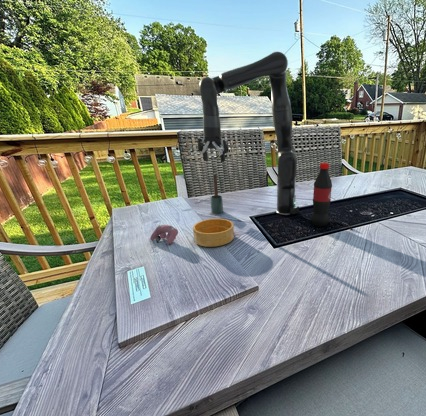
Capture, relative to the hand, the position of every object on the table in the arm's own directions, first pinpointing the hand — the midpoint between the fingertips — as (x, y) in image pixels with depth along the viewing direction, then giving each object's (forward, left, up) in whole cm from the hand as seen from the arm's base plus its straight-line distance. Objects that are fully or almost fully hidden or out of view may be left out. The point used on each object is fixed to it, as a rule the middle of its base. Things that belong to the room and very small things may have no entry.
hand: (214, 161), depth 125 cm
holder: (0, 0, -27) cm, 27 cm away
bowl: (-13, +27, -27) cm, 40 cm away
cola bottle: (-53, -1, -27) cm, 59 cm away
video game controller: (+5, +33, -27) cm, 43 cm away
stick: (0, 0, -26) cm, 26 cm away
